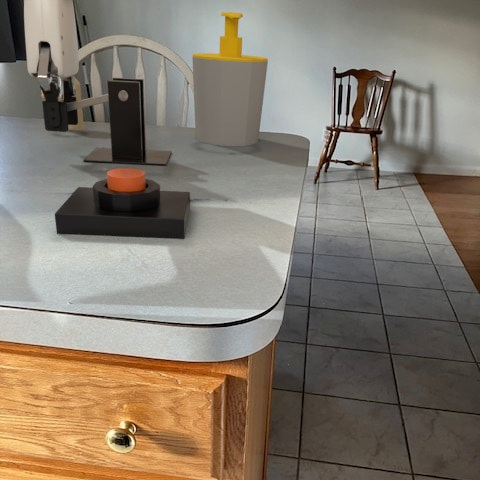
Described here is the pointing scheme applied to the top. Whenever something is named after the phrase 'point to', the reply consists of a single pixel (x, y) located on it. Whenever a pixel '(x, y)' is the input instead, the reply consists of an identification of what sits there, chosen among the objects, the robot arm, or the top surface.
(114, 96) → the switch bracket
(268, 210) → the top surface
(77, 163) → the top surface
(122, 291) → the top surface
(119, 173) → the button
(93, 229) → the control block
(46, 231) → the top surface
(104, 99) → the switch lever
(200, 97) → the soap bottle
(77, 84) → the candle
